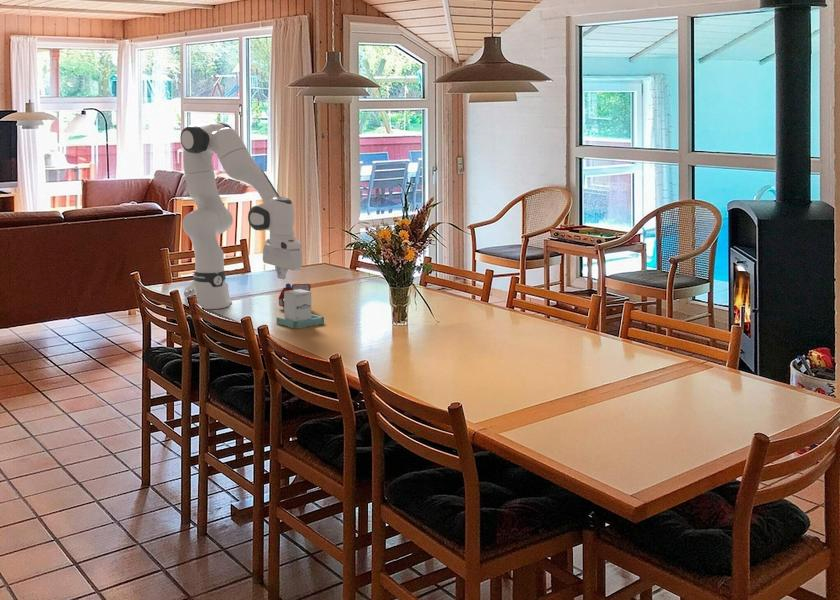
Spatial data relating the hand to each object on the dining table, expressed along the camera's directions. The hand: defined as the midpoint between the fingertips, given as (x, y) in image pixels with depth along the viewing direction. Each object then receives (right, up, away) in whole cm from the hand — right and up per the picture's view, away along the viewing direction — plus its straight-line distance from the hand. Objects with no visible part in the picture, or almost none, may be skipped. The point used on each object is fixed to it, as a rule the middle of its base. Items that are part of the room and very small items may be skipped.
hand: (281, 278), depth 349 cm
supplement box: (+7, -17, -7) cm, 20 cm away
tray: (+8, -17, -5) cm, 19 cm away
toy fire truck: (+2, -12, +21) cm, 24 cm away
